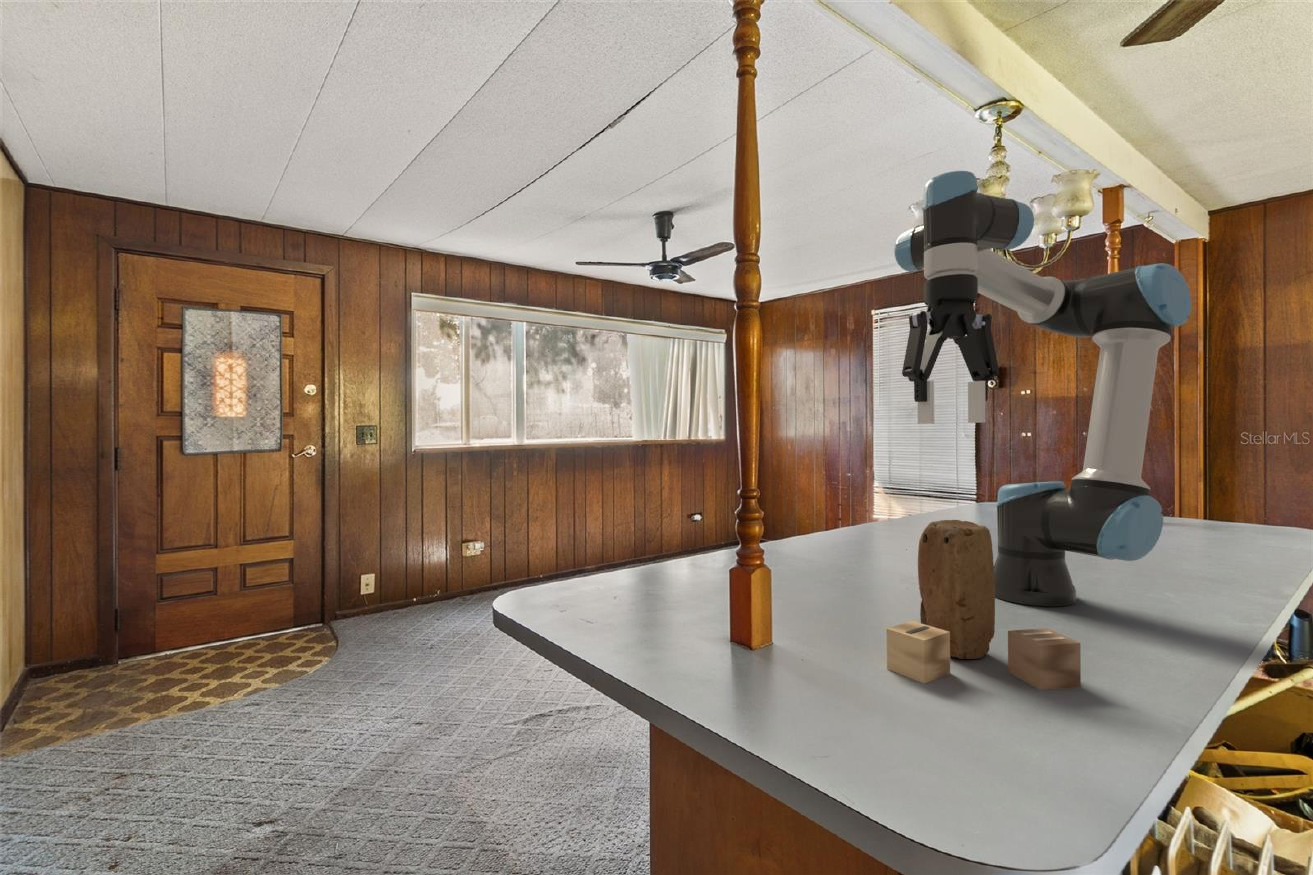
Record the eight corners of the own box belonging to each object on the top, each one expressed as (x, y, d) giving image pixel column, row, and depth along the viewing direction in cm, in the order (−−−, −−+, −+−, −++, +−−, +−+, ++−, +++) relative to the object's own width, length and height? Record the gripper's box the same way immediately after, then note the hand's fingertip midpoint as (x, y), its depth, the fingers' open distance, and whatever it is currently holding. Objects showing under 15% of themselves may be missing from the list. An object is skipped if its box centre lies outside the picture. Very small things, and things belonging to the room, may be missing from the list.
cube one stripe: (912, 660, 92) (912, 620, 92) (950, 673, 87) (949, 631, 87) (887, 669, 89) (886, 627, 89) (924, 684, 84) (923, 639, 84)
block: (1000, 660, 91) (999, 526, 91) (956, 664, 90) (955, 529, 89) (951, 635, 102) (950, 516, 102) (911, 639, 100) (910, 518, 100)
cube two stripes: (1046, 669, 88) (1046, 627, 88) (1080, 687, 82) (1080, 642, 82) (1008, 672, 87) (1007, 630, 87) (1039, 690, 81) (1039, 645, 81)
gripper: (986, 286, 102) (987, 422, 102) (875, 279, 95) (877, 424, 96) (1026, 275, 94) (1027, 421, 95) (908, 267, 88) (910, 424, 88)
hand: (951, 423), depth 95 cm, fingers open, 9 cm apart
